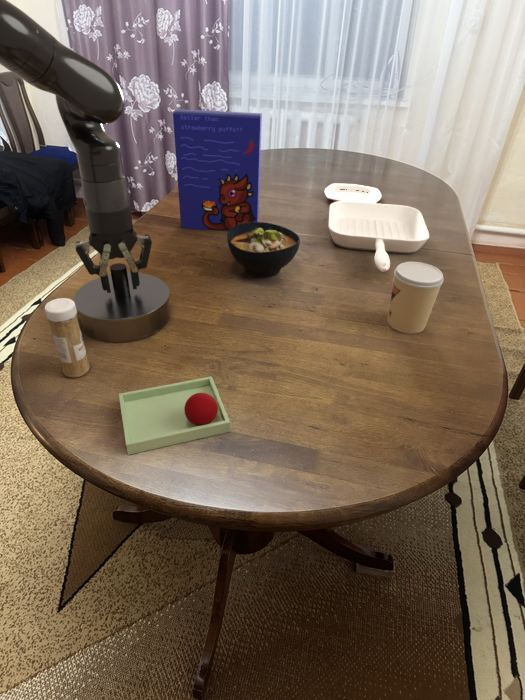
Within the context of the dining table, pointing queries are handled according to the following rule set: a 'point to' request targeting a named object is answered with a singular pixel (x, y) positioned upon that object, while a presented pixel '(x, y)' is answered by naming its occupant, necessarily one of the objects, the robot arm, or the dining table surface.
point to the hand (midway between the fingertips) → (121, 288)
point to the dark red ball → (201, 409)
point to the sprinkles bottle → (67, 336)
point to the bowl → (262, 247)
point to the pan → (377, 228)
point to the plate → (352, 193)
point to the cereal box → (217, 167)
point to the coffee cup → (413, 296)
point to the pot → (126, 327)
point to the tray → (167, 415)
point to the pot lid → (121, 297)
